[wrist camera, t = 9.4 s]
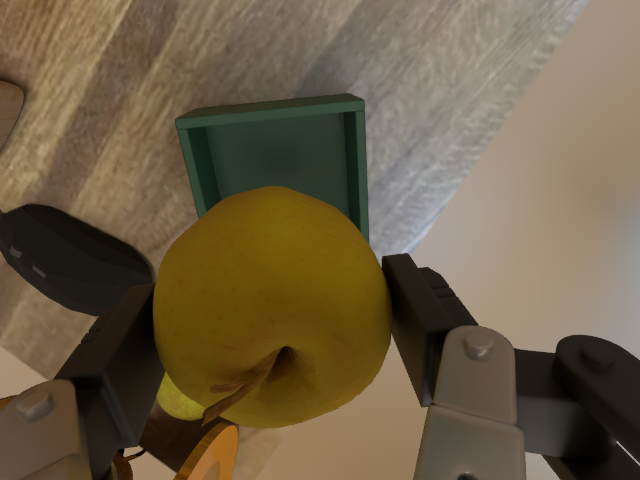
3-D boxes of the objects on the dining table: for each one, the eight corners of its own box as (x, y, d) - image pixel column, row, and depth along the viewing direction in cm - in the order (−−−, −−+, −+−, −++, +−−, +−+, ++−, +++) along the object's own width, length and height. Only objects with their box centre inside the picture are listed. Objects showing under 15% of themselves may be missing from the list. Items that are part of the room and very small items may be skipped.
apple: (157, 245, 14) (28, 431, 7) (271, 120, 13) (255, 194, 5) (281, 333, 16) (281, 542, 9) (390, 237, 15) (491, 397, 8)
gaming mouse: (-19, 161, 27) (-66, 176, 23) (169, 266, 32) (155, 292, 28) (-50, 227, 29) (-97, 250, 25) (133, 316, 33) (116, 347, 30)
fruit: (246, 395, 33) (170, 281, 32) (187, 446, 30) (101, 323, 29) (228, 384, 38) (162, 285, 36) (176, 427, 35) (102, 321, 34)
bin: (194, 108, 27) (174, 119, 22) (349, 93, 27) (364, 99, 22) (225, 248, 31) (214, 282, 26) (356, 232, 32) (370, 264, 27)
